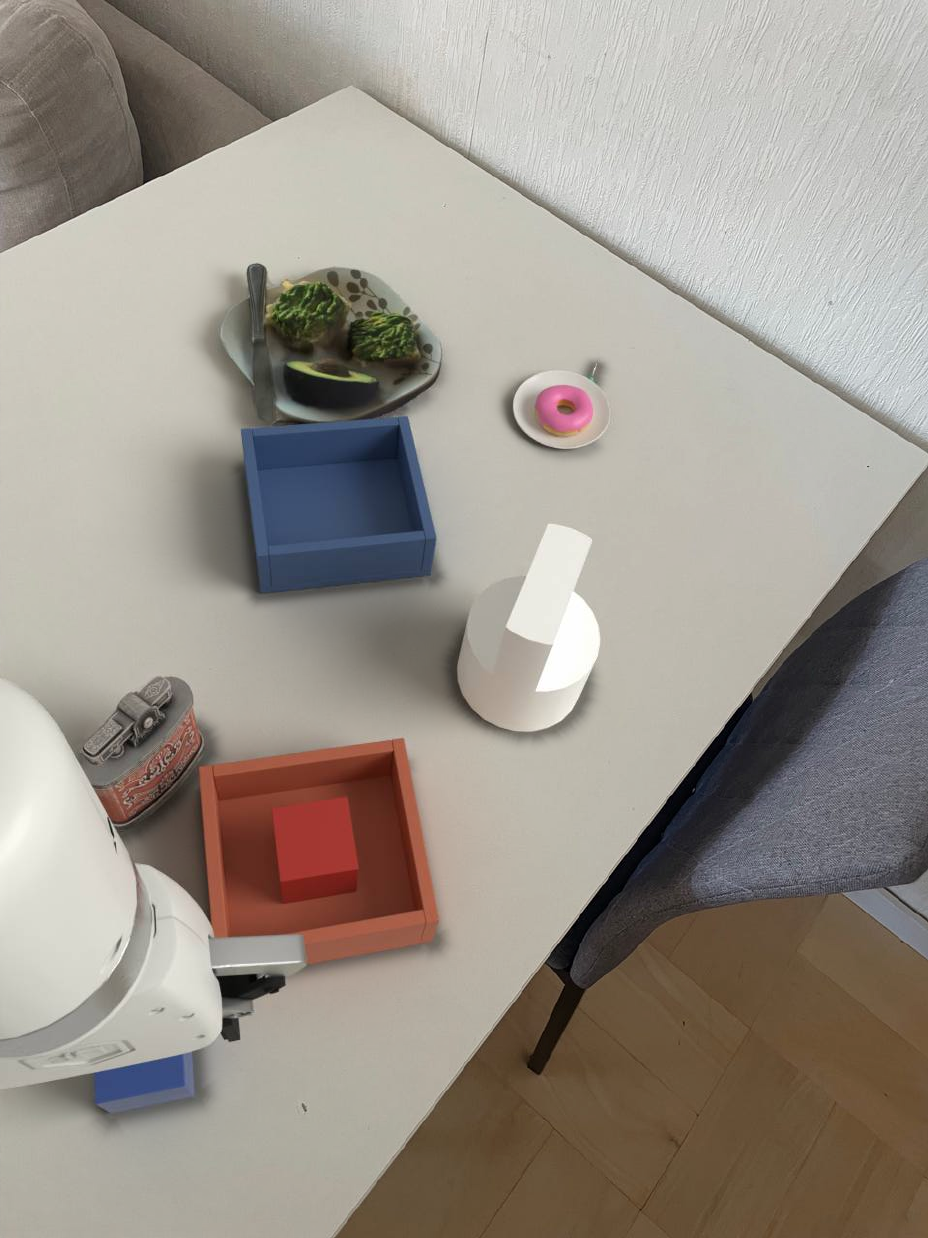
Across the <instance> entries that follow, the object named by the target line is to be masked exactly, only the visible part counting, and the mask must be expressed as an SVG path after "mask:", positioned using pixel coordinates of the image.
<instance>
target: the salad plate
mask: <svg viewBox="0 0 928 1238" xmlns="http://www.w3.org/2000/svg"><path fill="white" fill-rule="evenodd" d="M246 283H247V295H246V297H245V298H243V299H241V300H240V301H238V302H237V303H235V304H234V305H233V306H232V307H231V308H230V309H229V310H228V312H226V315H225V317H224V319H223V321H222V324H221V327H220V334H219V336H220V341H221V344H222V346H223V348H224V350H225V351H226V353H227V355H228V356H229V359H230V360H231V361H232V362H233V363H234V365H235V367H237V368H238V370H240V372H241V373H242V374H243V376H244V377H245V378H246V379H247V380H248V381H249V383H250V384H251V385H252V386H253V389H252V391H251V392H252V399H253V404H254V408H255V411H256V415H257V417H258V418H259V419H260V420H262V421H264V422H265V423H266V424H268V425H269V426H272V425H273V424H274V423H276V422H287V423H292V424H294V425H299V424H312V423H325V422H338V421H351V420H365V419H377V418H380V417H383V416H384V415H387V414H390V413H392V412H394V411H396V410H398V409H400V408H402V407H403V406H406V405H407V404H408V403H409V402H411V401H412V400H414V399H416V398H417V397H418V396H420V395H421V394H422V393H424V392H425V391H427V390H428V389H429V388H431V387H432V386H433V385H434V384H435V383H436V381H437V380H438V377H439V375H440V371H441V368H442V359H443V358H442V357H443V354H442V353H443V351H442V350H443V349H442V348H443V347H442V344H441V341H440V340H439V338H438V336H437V335H436V333H435V331H433V330H432V329H431V328H430V326H429V325H428V324H427V323H426V322H425V321H424V320H423V319H422V318H421V317H420V316H419V315H418V314H417V313H416V312H415V311H414V310H413V309H412V308H411V306H409V305H408V304H406V302H405V300H403V299H402V298H401V297H400V296H401V295H400V294H398V293H397V292H396V291H395V290H394V289H393V288H392V287H391V286H390V285H389V284H387V283H386V282H385V280H383V279H382V278H381V277H380V276H378V275H376V274H374V273H372V272H369V271H367V270H363V269H359V268H353V267H347V266H345V267H344V266H330V267H325V268H321V269H318V270H315V271H312V272H310V273H308V274H305V275H303V276H300V277H298V278H296V279H293V280H291V281H290V280H289V279H287V278H286V279H284V280H283V281H282V282H281V284H274V283H272V282H271V280H270V278H269V271H268V269H267V267H266V266H265V265H264V264H261V263H259V262H257V263H251V264H249V265H248V266H247V268H246Z"/></svg>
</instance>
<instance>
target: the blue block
mask: <svg viewBox="0 0 928 1238" xmlns="http://www.w3.org/2000/svg"><path fill="white" fill-rule="evenodd" d="M93 1083H94V1084H93V1085H94V1086H93V1087H94V1105H96V1106H97V1107H100V1108H101V1109H103V1110H104V1111H106V1112H107V1113H109V1114H111V1115H112V1114H117V1113H122V1112H127V1111H131V1110H136V1109H137V1110H138V1109H143V1108H146V1107H152V1106H157V1105H162V1104H166V1103H171V1102H175V1101H182V1100H186V1099H192V1098H194V1097H195V1096H196V1093H195V1091H196V1090H195V1077H194V1063H193V1051H192V1052H188V1053H184V1054H180V1055H176V1056H171V1057H167V1058H162V1059H158V1060H153V1061H148V1062H143V1063H138V1064H134V1065H129V1066H124V1067H119V1068H114V1069H109V1070H104V1071H99V1072H94V1073H93Z"/></svg>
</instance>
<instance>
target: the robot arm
mask: <svg viewBox="0 0 928 1238" xmlns="http://www.w3.org/2000/svg"><path fill="white" fill-rule="evenodd" d="M77 758H78V757H76V755H75V753H74V751H73V749H72V747H71V745H70V744H69V742H68V740H67V738H66V737H65V735H64V733H63V731H62V729H61V727H60V726H59V724H58V723H57V721H56V720H55V718H53V716H51V714H50V713H49V712H48V710H47V709H46V708H45V707H44V706H43V705H42V704H41V703H40V701H38V700H37V698H35V697H34V696H32V694H30V692H27V690H24V689H23V688H22V687H21V686H19V685H18V684H16V683H14V682H13V681H11V680H9V679H7V678H5V677H3V676H0V1090H7V1089H14V1088H15V1089H16V1088H20V1087H26V1086H32V1085H37V1084H43V1083H48V1082H52V1081H53V1082H55V1081H59V1080H63V1079H69V1078H74V1077H78V1076H83V1075H84V1076H85V1075H89V1074H94V1072H99V1071H104V1070H109V1069H114V1068H119V1067H124V1066H129V1065H134V1064H138V1063H143V1062H148V1061H153V1060H158V1059H162V1058H167V1057H171V1056H176V1055H180V1054H184V1053H188V1052H192V1053H193V1052H195V1051H198V1050H201V1049H204V1048H207V1047H208V1046H210V1045H211V1044H213V1042H214V1041H216V1040H217V1038H218V1037H219V1036H220V1035H221V1037H222V1039H223V1040H224V1041H228V1043H231V1042H232V1043H233V1042H237V1041H241V1027H240V1018H245V1017H249V1016H253V1014H254V1013H255V1007H254V1001H255V1000H256V999H260V998H261V997H263V996H267V995H273V994H277V993H279V992H280V990H281V989H283V987H286V985H287V983H286V977H292V976H293V975H295V974H297V973H298V972H299V971H301V970H302V969H304V968H305V967H307V959H306V951H305V943H304V936H303V935H302V934H288V935H266V936H244V937H221V938H215V937H214V932H213V929H212V926H211V921H209V919H208V917H207V915H206V914H205V912H204V910H203V909H202V907H201V906H200V905H199V904H198V903H197V901H196V900H195V899H194V898H193V897H192V896H191V894H190V893H189V892H188V891H187V890H186V889H184V887H182V885H180V884H179V883H178V882H176V880H174V879H173V878H171V877H170V876H168V875H167V874H165V873H164V872H162V871H160V870H159V869H157V868H155V867H153V866H151V865H150V864H146V863H136V862H134V860H133V858H132V857H131V854H130V853H129V851H128V849H127V847H126V846H125V844H124V842H123V840H122V838H121V837H120V834H119V833H118V830H116V829H115V827H114V826H113V824H112V822H111V820H110V818H109V816H108V814H107V813H106V811H105V809H104V807H103V805H102V803H101V802H100V800H99V798H98V796H97V794H96V793H95V791H94V789H93V787H92V785H91V784H90V782H89V780H88V778H87V776H86V775H85V773H84V771H83V769H82V767H81V765H80V764H79V762H78V760H77Z"/></svg>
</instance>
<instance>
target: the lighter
mask: <svg viewBox="0 0 928 1238" xmlns="http://www.w3.org/2000/svg"><path fill="white" fill-rule="evenodd" d="M194 702H195V701H194V694H193V690H192V689H191V687H190V685H189V684H188V683H187V682H186V681H185V680H184V679H181V678H179V677H177V676H162V675H155V676H154V677H152V678H151V679H150V680H149V681H148V682H147V683H146V684H145V685H144V686H142V687H141V688H140V689H139V691H137V690H135V691H133V692H132V691H130V692H128V693H127V694H125V695H124V696H123V697H122V698H121V699H120V701H119V702H118V703H117V705H116V708H115V710H114V712H113V713H112V714H111V716H110V717H108V718H107V720H106V721H105V722H104V723H103V724H102V725H101V726H100V727H99V729H97V730H96V731H95V732H94V733H93V734H92V735H91V736H90V737H89V738H88V739H87V740H86V741H84V743H83V744H82V745H81V752H80V753H79V754H78V756H77V757H76V758H77V760H78V762H79V764H80V765H81V767H82V769H83V771H84V773H85V775H86V776H87V778H88V780H89V782H90V784H91V785H92V787H93V789H94V791H95V793H96V794H97V796H98V798H99V800H100V802H101V803H102V805H103V807H104V809H105V811H106V813H107V814H108V816H109V818H110V820H111V822H112V824H113V826H114V827H115V829H116V831H120V832H121V831H122V832H123V831H128V830H130V829H132V828H134V827H136V826H137V825H138V824H140V823H141V822H143V821H144V820H145V819H146V818H148V817H149V816H150V815H152V814H153V813H155V812H156V811H157V810H158V809H159V808H160V807H161V806H162V805H164V804H165V803H166V802H167V801H168V800H169V799H170V798H171V797H172V796H174V794H175V793H176V792H177V791H178V790H179V788H180V787H181V786H182V785H183V784H184V782H185V781H186V780H187V779H188V777H189V776H190V775H191V774H192V772H193V771H194V769H195V768H196V766H197V765H198V764H199V762H200V760H201V759H202V758H203V755H204V753H205V751H206V743H205V739H204V736H203V734H202V733H201V731H200V730H199V728H198V724H197V719H196V715H195V711H194V708H193V707H194Z"/></svg>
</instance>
